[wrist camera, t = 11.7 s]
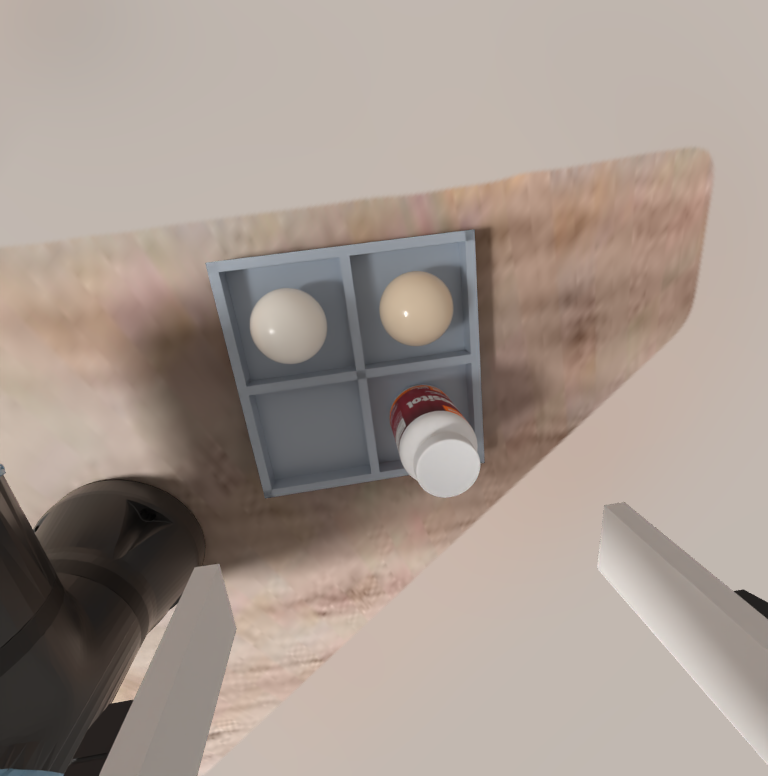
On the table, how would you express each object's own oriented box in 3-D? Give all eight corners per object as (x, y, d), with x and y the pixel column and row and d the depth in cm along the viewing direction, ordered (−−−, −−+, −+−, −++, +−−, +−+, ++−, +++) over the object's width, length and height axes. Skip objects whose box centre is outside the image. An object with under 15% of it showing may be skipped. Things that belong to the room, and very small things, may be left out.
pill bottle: (456, 386, 37) (501, 433, 27) (444, 444, 39) (482, 510, 29) (393, 378, 36) (414, 425, 26) (383, 438, 38) (399, 504, 28)
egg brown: (380, 343, 35) (388, 358, 30) (372, 274, 33) (378, 277, 28) (445, 334, 36) (465, 347, 30) (440, 266, 34) (460, 266, 28)
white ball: (266, 359, 35) (251, 378, 29) (251, 290, 33) (232, 296, 27) (333, 349, 35) (331, 366, 29) (322, 281, 33) (318, 285, 27)
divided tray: (269, 483, 39) (265, 498, 37) (215, 262, 33) (205, 262, 30) (475, 450, 41) (484, 462, 38) (464, 231, 34) (474, 229, 31)
